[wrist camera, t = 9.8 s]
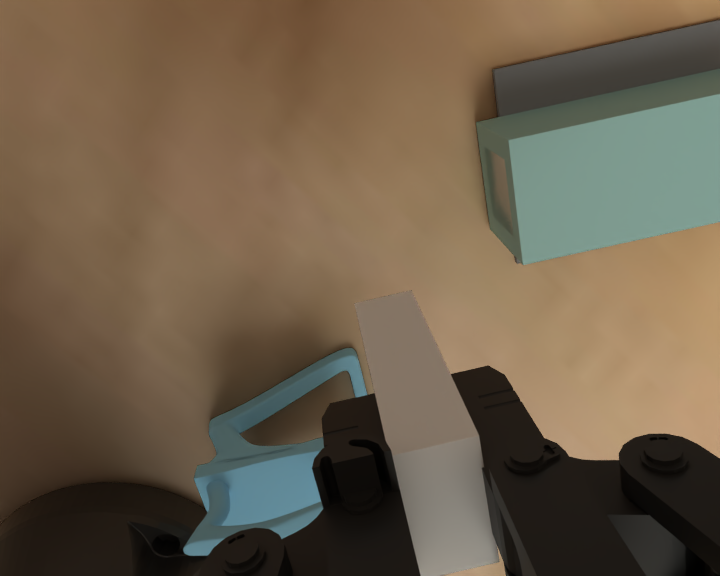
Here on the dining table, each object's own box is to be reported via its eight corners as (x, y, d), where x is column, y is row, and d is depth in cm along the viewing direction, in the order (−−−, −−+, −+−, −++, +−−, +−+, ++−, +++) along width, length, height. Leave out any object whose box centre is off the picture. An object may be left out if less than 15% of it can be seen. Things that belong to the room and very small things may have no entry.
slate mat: (515, 261, 32) (517, 263, 31) (492, 69, 28) (494, 69, 28) (779, 203, 32) (783, 205, 31) (787, 4, 28) (792, 4, 28)
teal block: (522, 265, 26) (794, 205, 26) (508, 140, 24) (801, 75, 24) (490, 229, 31) (720, 178, 31) (475, 122, 29) (721, 68, 29)
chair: (194, 382, 33) (133, 563, 22) (355, 345, 33) (378, 508, 22) (238, 502, 36) (204, 716, 25) (386, 469, 36) (420, 669, 25)
